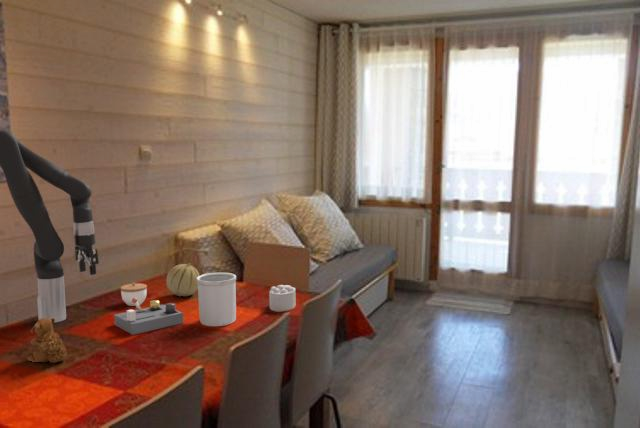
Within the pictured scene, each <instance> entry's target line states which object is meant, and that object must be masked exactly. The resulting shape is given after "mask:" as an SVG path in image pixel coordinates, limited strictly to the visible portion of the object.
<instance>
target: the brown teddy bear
mask: <svg viewBox="0 0 640 428" xmlns="http://www.w3.org/2000/svg"><path fill="white" fill-rule="evenodd" d="M55 320H56V319H55V318H52V319H48V318H42V319H40V320H39V319H38V320H37V321H36V323H35V324H34V325H33V327H32V328H30V331H29V332H31V333H33V331H35V333H36V336H37V337H36V338H32V339H31V340H30V345H31V346H32V347H37V349H36V350H35V351H34V352H33V354H31V355H29V356H28V357H27V361H29V362H30V361H32V362H31V363H34V362H43V363H47V362H48V361H49V362H48V363H51V364H56V363H61V362H63V361H64V360H66V358H67V356H68V351H67V349H66V348H67V347H66V346H65V344H64V343H63V342H64V341H63V340H62V338H60V334H58V332H56V331H54V326H53V325H54V322H55ZM55 323H56V322H55Z"/></svg>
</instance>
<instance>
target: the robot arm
mask: <svg viewBox="0 0 640 428" xmlns="http://www.w3.org/2000/svg"><path fill="white" fill-rule="evenodd" d="M0 168H1V169H2V171H3V172H2V173H3V175H4V177H5V181H6V184H7V188H8V190H9V193H10V195H11V198H12V201H13V203H14V205H15V207H16V208H17V210H18V212H19V214H20V215H21V217H22V218H23V220H24V221H25V223H26V224H27V225H28V227H29V228H30V230H31V232H32V234H33V236H34V239H35V242H34V244H33V261H34V268H35V272H36V277H37V289H38V291H37V292H38V296H37V297H36V300H37V301H36V302H37V303H36V304H37V315H38V320H40V319H42V318H48V319H52V318H55V319H56V320H55V322H54V323H59V322H63V321H65V320H66V319H67V310H66V294H65V292H66V291H65V289H66V288H65V276H64V273H65V272H64V268H63V266H62V263H61V258H62V256H63V254H64V252H65V245H64V243H63V241H62V239H61V237H60V236H59V234H58V232H57V230H56V229H55V227H54V225H53V223H52V221H51V218H50V215H49V212H48V210H47V207H46V204H45V202H44V198H43V197H42V196H43V195H42V194H41V192H40V189H39V187H38V186H37V184H36V181H35V180H34V178H33V176H32V174H31V173H30V172H32V173H33V174H34V175H36V176H38V177H39V178H41V179H42V180H43V181H45V182H46V183H48V184H50V185H52V186H53V187H55V188H57V189H59V190H61V191H63V192H64V193H66V194H68V195H69V196H70V197H69V198H70V203H71V207H72V217H73V218H72V220H73V237H74V238H73V239H74V245H75V246H74V255H75V256H74V257H75V261H77V263H78V267H79V272H81V273H82V272H86V269H87V268H86V262H87V263H88V266H89V268H88V269H89V275H90V276H95V275H96V274H97V267H96V265H98V264H100V262H99V254H98V249H97V248H93V245H94V246H95V244H96V233H95V226H94V224H95V223H94V218H93V211H92V207H91V205H90V204H91V203H90V198H91V197H92V189H91V187H90V186H89V184H87V183H85V182H84V181H82V180H80V179H78V178H76V177H75V176H73V175H71V174H70V173H69V172H67V171H66V170H65V169H63V168H61V167H60V166H58V165H57V164H55V163H53V162H51V161H49V160H48V159H46V158H45V157H42V156H40V155H39V154H37V153H36V152H34V151H33V150H31V149H29V148H28V147H27V146H25V144H23V143H22V142H21V141H20V140H19V139H17V138H16V135H14V134H13V133H12V132H10V131H9V130H6V129H5V130H0Z"/></svg>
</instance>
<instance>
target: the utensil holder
mask: <svg viewBox="0 0 640 428" xmlns="http://www.w3.org/2000/svg"><path fill="white" fill-rule="evenodd" d="M236 281H237V275H236V274H234V273H231V272H208V273H203V274H201V275H200V274H199V276H198V277H197V283H198V289H197V295H198V296H197V297H198V298H197V299H198V310H199V311H198V312H199V321H200V324H201V325H202V326H203V325H204V326H206V327H222V326H228V325H230V324H233V323H235V322H236V319H237V299H236V298H237V295H236V294H237V293H236V292H237V291H236V289H237V285H236Z"/></svg>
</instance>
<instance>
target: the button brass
mask: <svg viewBox="0 0 640 428" xmlns="http://www.w3.org/2000/svg"><path fill="white" fill-rule="evenodd" d="M160 305H161V303H160V300H159V299H153V300H150V301H149V307H150V310H158V309H160Z"/></svg>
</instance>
